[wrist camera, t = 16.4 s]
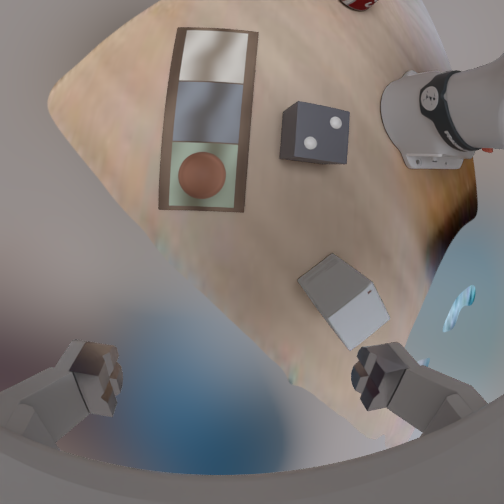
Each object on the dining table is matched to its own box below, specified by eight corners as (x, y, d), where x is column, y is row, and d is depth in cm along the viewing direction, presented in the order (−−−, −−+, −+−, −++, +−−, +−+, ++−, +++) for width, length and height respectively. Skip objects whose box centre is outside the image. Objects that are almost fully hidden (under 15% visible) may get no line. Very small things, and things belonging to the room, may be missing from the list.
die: (328, 119, 38) (350, 111, 31) (324, 164, 40) (346, 164, 33) (282, 111, 37) (298, 100, 30) (279, 158, 39) (294, 156, 32)
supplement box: (295, 279, 44) (326, 317, 32) (332, 251, 44) (374, 280, 32) (317, 311, 46) (349, 353, 34) (351, 284, 46) (392, 319, 34)
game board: (258, 32, 33) (258, 32, 32) (243, 212, 40) (244, 212, 40) (177, 28, 31) (177, 27, 30) (158, 209, 38) (158, 209, 38)
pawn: (223, 156, 37) (233, 148, 24) (221, 194, 38) (229, 205, 25) (185, 155, 36) (174, 145, 23) (183, 192, 38) (171, 203, 24)
